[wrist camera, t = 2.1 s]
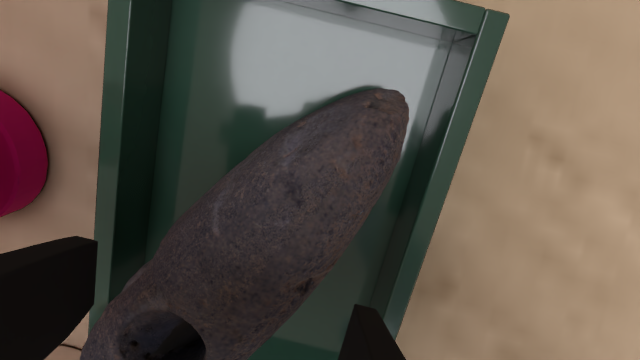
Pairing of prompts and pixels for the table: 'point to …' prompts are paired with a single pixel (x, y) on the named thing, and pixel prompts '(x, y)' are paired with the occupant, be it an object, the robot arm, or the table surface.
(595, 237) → the table surface
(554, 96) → the table surface
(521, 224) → the table surface
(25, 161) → the pepper mill
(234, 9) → the dish
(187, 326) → the perforated stone tool
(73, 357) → the beer glass
